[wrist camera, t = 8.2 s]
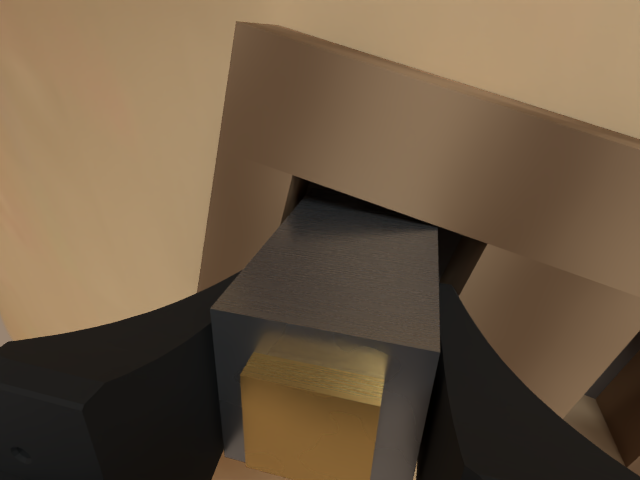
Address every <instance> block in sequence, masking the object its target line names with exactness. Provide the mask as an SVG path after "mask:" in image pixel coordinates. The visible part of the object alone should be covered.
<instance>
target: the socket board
mask: <svg viewBox="0 0 640 480" xmlns="http://www.w3.org/2000/svg"><path fill="white" fill-rule="evenodd" d="M312 188H318V189H326V190H335V191H339V192H342V193H345V194H348V195H351V196H354V197H356V198H359V199H362V200H365V201H368V202H371V203H373V204H376V205H379V206H382V207H385V208H388V209H391V210H393V211H396V212H399V213H402V214H405V215H408V216H410V217H413V218H416V219H419V220H422V221H425V222H428V223H430V224H433V225H436V226H438V271H439V283H444V284H451V285H452V286H453V287H454V289H455V291H456V292H457V294H458V296H459V298H460V300H461V301H462V303H463V305H464V307H465V308H466V310H467V311H468V313H469V315H470V316H471V318H472V319H473V321H474V322H475V324H476V325H477V327H478V328H479V330H480V331H481V333H482V334H483V336H484V337H485V338H486V340H487V341H488V343H489V344H490V345H491V347H492V348H493V349H494V350H495V352H496V353H497V354H498V355H499V357H500V358H501V359H502V360H503V361H504V363H505V364H506V365H507V366H508V367H509V368H510V369H511V370H512V371H513V372H514V373H515V375H516V376H517V377H518V378H519V379H520V380H521V381H522V382H523V383H524V384H525V385H526V386H527V387H528V388H529V389H530V390H531V391H532V392H533V393H534V394H535V395H536V396H537V397H538V398H540V399H541V400H542V401H543V402H544V403H545V404H546V405H547V406H548V407H550V408H551V409H552V410H553V411H554V412H555V413H556V414H557V415H558V416H560V417H561V418H562V419H563V420H564V421H566V422H567V423H568V424H569V425H571V426H572V427H573V428H574V429H575V430H577V431H578V432H579V433H580V434H582V435H583V436H584V437H586V438H587V439H588V440H590V441H591V442H592V443H593V444H595V445H596V446H597V447H599V448H600V449H601V450H603V451H604V452H605V453H607V454H608V455H609V456H611V457H612V458H614V459H615V460H617V461H618V462H620V463H621V464H622V465H624V466H625V467H627V468H628V469H630V470H631V471H633V472H634V473H636V474H637V475H639V476H640V139H637V138H633V137H630V136H627V135H624V134H621V133H618V132H614V131H611V130H608V129H605V128H602V127H599V126H595V125H592V124H589V123H586V122H583V121H580V120H576V119H573V118H570V117H567V116H564V115H561V114H557V113H554V112H551V111H548V110H545V109H542V108H538V107H535V106H532V105H529V104H526V103H523V102H519V101H516V100H513V99H510V98H507V97H504V96H500V95H497V94H494V93H491V92H488V91H485V90H481V89H478V88H475V87H472V86H469V85H466V84H462V83H459V82H456V81H453V80H450V79H446V78H443V77H440V76H437V75H434V74H431V73H427V72H424V71H421V70H418V69H415V68H412V67H408V66H405V65H402V64H399V63H396V62H393V61H389V60H386V59H383V58H380V57H377V56H374V55H370V54H367V53H364V52H361V51H358V50H355V49H351V48H348V47H345V46H342V45H339V44H336V43H332V42H329V41H326V40H323V39H320V38H317V37H313V36H310V35H307V34H304V33H301V32H298V31H294V30H291V29H288V28H285V27H282V26H279V25H270V24H259V23H248V22H237V21H236V26H235V33H234V40H233V47H232V54H231V61H230V68H229V75H228V81H227V88H226V95H225V102H224V109H223V116H222V123H221V130H220V137H219V144H218V151H217V158H216V165H215V172H214V179H213V186H212V193H211V199H210V206H209V213H208V220H207V227H206V234H205V241H204V248H203V255H202V262H201V269H200V276H199V283H198V290H197V293H198V292H200V291H202V290H204V289H206V288H209V287H211V286H213V285H215V284H217V283H219V282H221V281H223V280H225V279H226V278H228V277H230V276H232V275H234V274H236V273H238V272H239V271H241V270H243V269H244V268H245V267H246V265H247V264H248V263H249V262H250V261H251V259H252V258H253V257H254V256H255V255H256V254H257V252H258V251H259V250H260V249H261V248H262V246H263V245H264V244H265V243H266V242H267V241H268V239H269V238H270V237H271V236H272V235H273V233H274V232H275V231H276V230H277V229H278V228H279V226H280V225H281V224H282V223H283V222H284V220H285V219H286V218H287V217H288V216H289V215H290V213H291V212H292V211H293V210H294V209H295V207H296V206H297V205H298V204H299V203H300V202H301V200H302V199H303V198H304V197H305V196H306V194H307V193H308V192H309V191H310V190H311V189H312Z"/></svg>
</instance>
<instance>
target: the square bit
mask: <svg viewBox="0 0 640 480" xmlns="http://www.w3.org/2000/svg"><path fill="white" fill-rule="evenodd" d="M210 314H211V324H212V334H213V344H214V354H215V364H216V374H217V384H218V394H219V404H220V414H221V424H222V434H223V444H224V454H225V457H228V458H231V459H235V460H239V461H242V462H246V467H248V468H252V469H256V470H259V471H263V472H267V473H270V474H274V475H278V476H281V477H285V478H289V479H292V480H413V476H414V472H415V467H416V463H417V458H418V453H419V449H420V444H421V439H422V435H423V430H424V425H425V421H426V416H427V411H428V407H429V402H430V397H431V393H432V388H433V383H434V379H435V374H436V369H437V365H438V360H439V355H440V320H439V271H438V226H436V225H433V224H430V223H428V222H425V221H422V220H419V219H416V218H413V217H410V216H408V215H405V214H402V213H399V212H396V211H393V210H391V209H388V208H385V207H382V206H379V205H376V204H373V203H371V202H368V201H365V200H362V199H359V198H356V197H354V196H351V195H348V194H345V193H342V192H339V191H335V190H326V189H318V188H312V189H311V190H310V191H309V192H308V193H307V194H306V196H305V197H304V198H303V199H302V200H301V202H300V203H299V204H298V205H297V206H296V207H295V209H294V210H293V211H292V212H291V213H290V215H289V216H288V217H287V218H286V219H285V220H284V222H283V223H282V224H281V225H280V226H279V228H278V229H277V230H276V231H275V232H274V233H273V235H272V236H271V237H270V238H269V239H268V241H267V242H266V243H265V244H264V245H263V246H262V248H261V249H260V250H259V251H258V252H257V254H256V255H255V256H254V257H253V258H252V259H251V261H250V262H249V263H248V264H247V265H246V267H245V268H244V269H243V270H242V271H241V272H240V274H239V275H238V276H237V277H236V278H235V280H234V281H233V282H232V283H231V284H230V285H229V287H228V288H227V289H226V290H225V291H224V293H223V294H222V295H221V296H220V297H219V298H218V300H217V301H216V302H215V303H214V304H213V306H212V307H211V308H210Z"/></svg>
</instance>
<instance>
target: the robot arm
mask: <svg viewBox="0 0 640 480" xmlns="http://www.w3.org/2000/svg"><path fill="white" fill-rule="evenodd" d="M241 271H242V270H241ZM241 271H239V272H238V273H236V274H234V275H232V276H230V277H228V278H226V279H225V280H223V281H221V282H219V283H217V284H215V285H213V286H211V287H209V288H206V289H204V290H202V291H200V292H198V293H196V294H194V295H192V296H190V297H187V298H185V299H183V300H180V301H178V302H175V303H173V304H170V305H167V306H165V307H162V308H159V309H157V310H154V311H151V312H148V313H144V314H141V315H138V316H134V317H131V318H128V319H124V320H121V321H118V322H114V323H110V324H106V325H102V326H98V327H93V328H89V329H84V330H79V331H74V332H69V333H64V334H58V335H52V336H45V337H38V338H32V339H25V340H18V341H10V342H7V343H5V344H4V345H3V346H2V347H0V480H211V479H212V476H213V474H214V472H215V469H216V467H217V464H218V462H219V459H220V457H221V454H222V452H223V449H224V444H223V434H222V424H221V414H220V404H219V394H218V384H217V374H216V364H215V354H214V344H213V334H212V324H211V314H210V308H211V307H212V306H213V304H214V303H215V302H216V301H217V300H218V298H219V297H220V296H221V295H222V294H223V293H224V291H225V290H226V289H227V288H228V287H229V285H230V284H231V283H232V282H233V281H234V280H235V278H236V277H237V276H238V275H239V274H240V272H241ZM439 320H440V355H439V360H438V365H437V369H436V374H435V379H434V383H433V388H432V393H431V397H430V402H429V407H428V411H427V416H426V421H425V425H424V430H423V435H422V439H421V444H420V449H419V453H418V458H417V476H416V480H640V476H639V475H637V474H636V473H634V472H633V471H631V470H630V469H628V468H627V467H625V466H624V465H622V464H621V463H620V462H618V461H617V460H615V459H614V458H612V457H611V456H609V455H608V454H607V453H605V452H604V451H603V450H601V449H600V448H599V447H597V446H596V445H595V444H593V443H592V442H591V441H590V440H588V439H587V438H586V437H584V436H583V435H582V434H580V433H579V432H578V431H577V430H575V429H574V428H573V427H572V426H571V425H569V424H568V423H567V422H566V421H564V420H563V419H562V418H561V417H560V416H558V415H557V414H556V413H555V412H554V411H553V410H552V409H551V408H550V407H548V406H547V405H546V404H545V403H544V402H543V401H542V400H541V399H540V398H538V397H537V396H536V395H535V394H534V393H533V392H532V391H531V390H530V389H529V388H528V387H527V386H526V385H525V384H524V383H523V382H522V381H521V380H520V379H519V378H518V377H517V376H516V375H515V373H514V372H513V371H512V370H511V369H510V368H509V367H508V366H507V365H506V364H505V363H504V361H503V360H502V359H501V358H500V357H499V355H498V354H497V353H496V352H495V350H494V349H493V348H492V347H491V345H490V344H489V343H488V341H487V340H486V338H485V337H484V336H483V334H482V333H481V331H480V330H479V328H478V327H477V325H476V324H475V322H474V321H473V319H472V318H471V316H470V315H469V313H468V311H467V310H466V308H465V307H464V305H463V303H462V301H461V300H460V298H459V296H458V294H457V292H456V291H455V289H454V287H453V286H452V285H451V284H444V283H439Z"/></svg>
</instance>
